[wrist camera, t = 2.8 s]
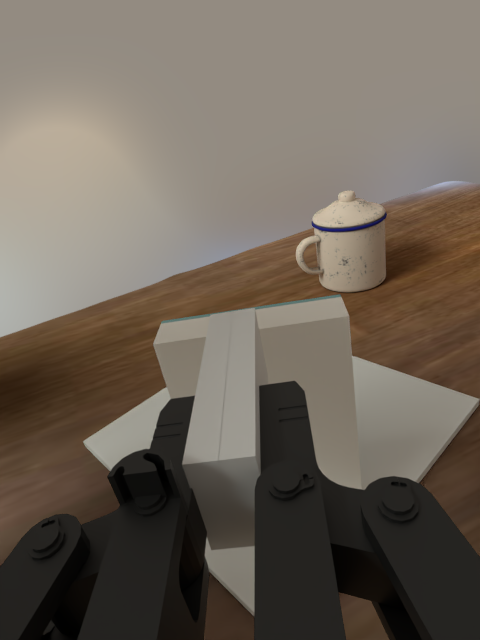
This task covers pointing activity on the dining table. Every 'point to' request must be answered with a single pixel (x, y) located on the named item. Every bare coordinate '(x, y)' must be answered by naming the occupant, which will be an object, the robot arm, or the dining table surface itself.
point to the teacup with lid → (348, 244)
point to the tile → (287, 370)
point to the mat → (373, 439)
